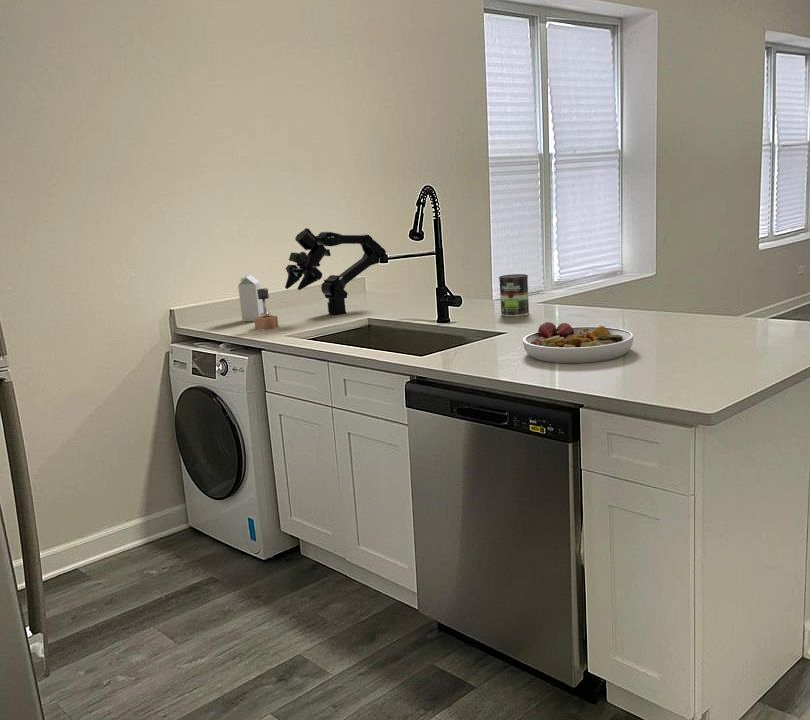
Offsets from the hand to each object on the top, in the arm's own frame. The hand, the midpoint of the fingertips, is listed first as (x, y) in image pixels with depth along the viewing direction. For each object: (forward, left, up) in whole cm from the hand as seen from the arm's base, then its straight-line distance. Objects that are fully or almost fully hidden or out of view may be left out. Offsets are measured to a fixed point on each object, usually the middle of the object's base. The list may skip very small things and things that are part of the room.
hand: (292, 288), depth 328 cm
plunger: (+11, +7, -8) cm, 16 cm away
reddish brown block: (+11, +9, -13) cm, 19 cm away
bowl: (-73, +111, -13) cm, 134 cm away
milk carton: (+16, -16, -13) cm, 26 cm away
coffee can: (-78, +38, -13) cm, 88 cm away
